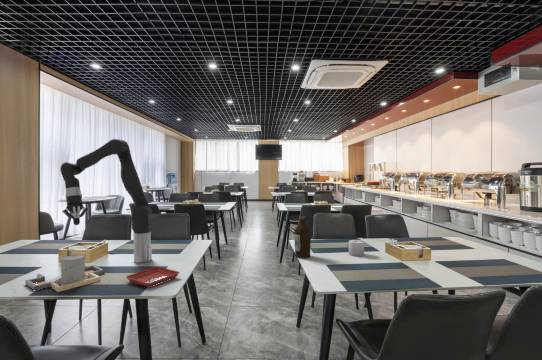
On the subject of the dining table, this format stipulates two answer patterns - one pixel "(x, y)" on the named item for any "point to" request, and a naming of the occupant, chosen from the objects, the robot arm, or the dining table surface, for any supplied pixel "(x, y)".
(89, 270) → the two-trap box
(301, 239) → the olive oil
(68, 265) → the grey concrete cylinder
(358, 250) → the toilet tissue
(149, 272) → the plant saucer
